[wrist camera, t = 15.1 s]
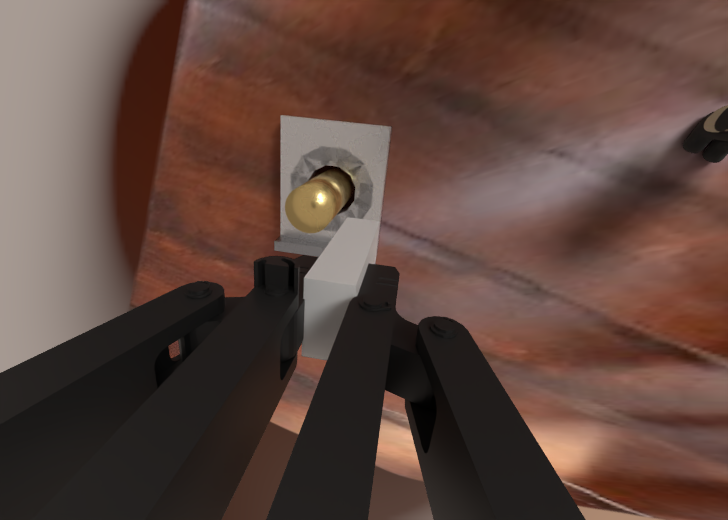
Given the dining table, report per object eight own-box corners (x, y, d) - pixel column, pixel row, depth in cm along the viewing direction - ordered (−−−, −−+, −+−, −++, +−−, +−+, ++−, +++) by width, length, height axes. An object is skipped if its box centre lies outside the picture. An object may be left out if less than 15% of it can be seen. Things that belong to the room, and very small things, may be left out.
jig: (287, 115, 40) (273, 115, 36) (392, 126, 39) (389, 127, 35) (286, 239, 46) (274, 250, 42) (377, 252, 45) (373, 264, 41)
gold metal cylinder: (318, 166, 42) (285, 182, 31) (354, 170, 41) (333, 189, 31) (316, 203, 43) (284, 230, 33) (351, 207, 43) (330, 236, 33)
